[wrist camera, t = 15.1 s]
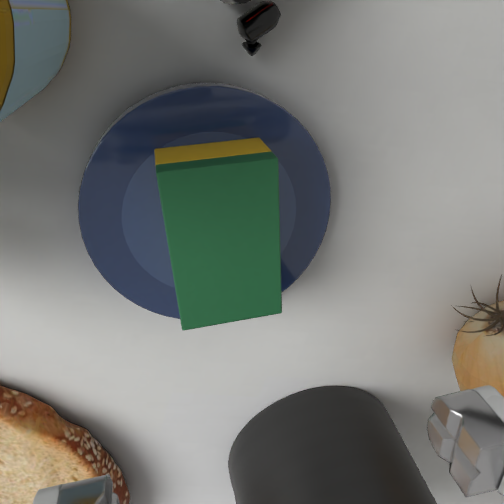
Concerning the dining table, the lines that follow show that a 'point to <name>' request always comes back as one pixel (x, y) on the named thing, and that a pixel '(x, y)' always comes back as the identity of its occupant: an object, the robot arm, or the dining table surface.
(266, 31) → the wireless earbuds
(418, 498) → the vase
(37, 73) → the bottle
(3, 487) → the slice of bread
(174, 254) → the sponge
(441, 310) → the dining table surface
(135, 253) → the plate
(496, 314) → the sculpture
